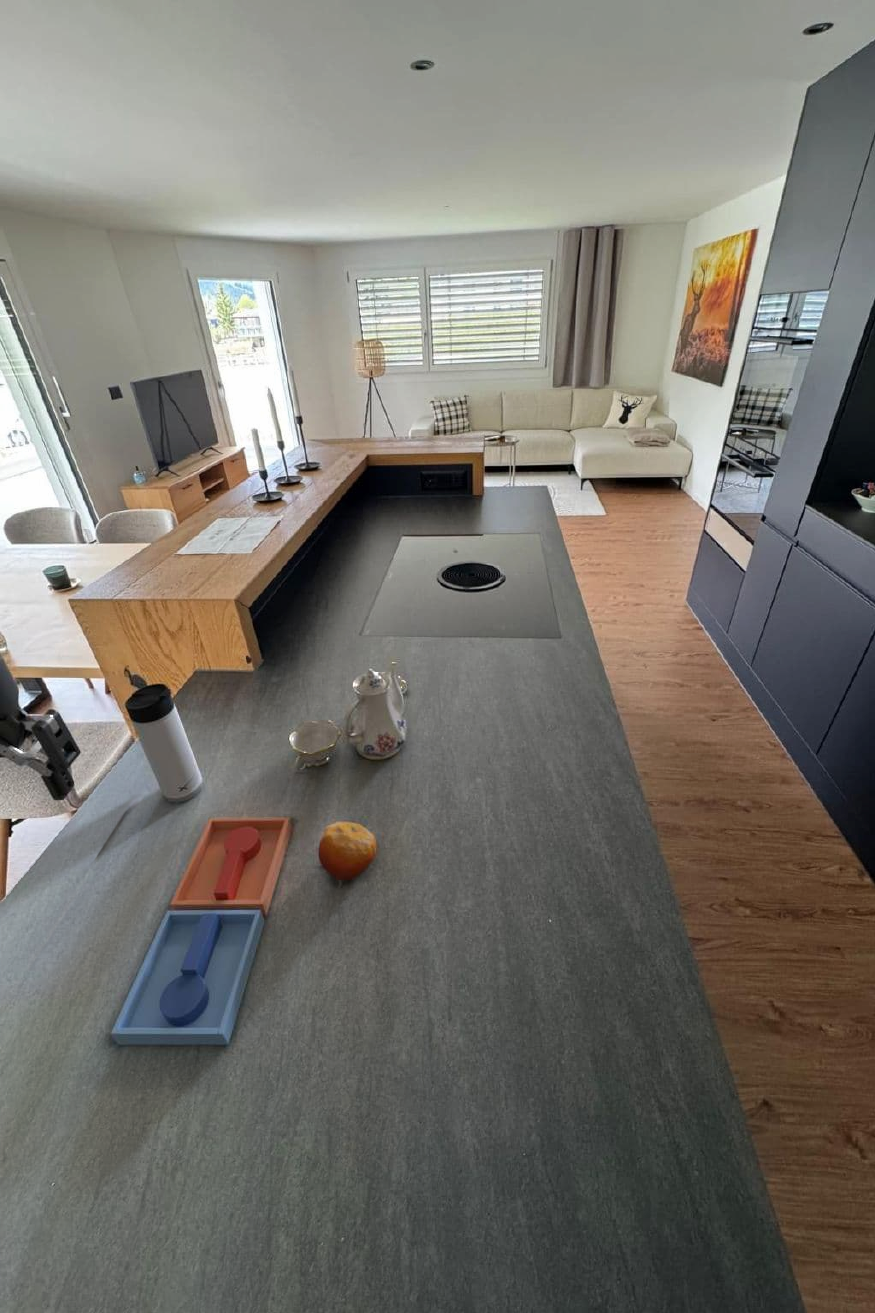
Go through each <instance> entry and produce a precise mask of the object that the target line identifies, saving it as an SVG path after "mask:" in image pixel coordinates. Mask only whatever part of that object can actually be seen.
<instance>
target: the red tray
mask: <svg viewBox="0 0 875 1313" xmlns="http://www.w3.org/2000/svg"><path fill="white" fill-rule="evenodd" d="M241 827H252V828H254V829H255V830H256V831H257V832H258V835H259V838H260V841H261V849H260V851H259V853H258V854H257V855H256V856H255V857H254V858H252V859H251V860H249V861H246V864H245V868H244V871H243V874H242V877H241V880H240V884H239V887H238V890H237V893H236V897H235V900H216V898H215V896H214V894H213V893H214V890H215V887H216V885H217V882H218V879H219V876H220V873H221V870H222V867H223V864H224V862H225V859H226V856H227V853H226V850H225V848H224V842H225V839H226V837H227V836H228V835H229V834H230V833H231V832H232V831H234V830H236V829H238V828H241ZM292 831H293V826H292V821H291V818H290V817H289V816H287V817H286V816H285V817H283V816H282V817H281V816H279V817H214V818H212V817H211V818H209V819H208V821H207V823H206V825H205V828H204V829H203V831H202V834H201V836H200V838H199V840H198V843H197V845H196V847H195V849H194V851H193V853H192V856H191V858H190V860H189V862H188V864H187V866H186V868H185V871H184V873H183V875H182V877H181V879H180V882H179V884H178V886H177V888H176V891H175V893H174V894H173V896H172V899H171V901H170V903H169V906H170V908H171V911H182V910H261V912H262V915H263V916H268V912H269V909H270V905H271V902H272V898H273V895H274V893H275V892H274V891H275V888H276V885H277V882H278V879H279V875H280V871H281V868H282V865H283V863H284V862H283V861H284V858H285V854H286V851H287V848H288V844H289V841H290V838H291V835H292Z"/></svg>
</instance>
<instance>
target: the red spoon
mask: <svg viewBox="0 0 875 1313" xmlns="http://www.w3.org/2000/svg"><path fill="white" fill-rule="evenodd" d="M224 848H225V850H226V853H227V856H226V859H225V862H224V864H223V867H222V870H221V873H220V876H219V879H218V882H217V885H216V887H215V890H214V893H213V894H214V896H215V898H216V900H235V897H236V893H237V890H238V887H239V884H240V880H241V877H242V874H243V871H244V868H245V864H246V861H249V860H251V859H252V858H254V857H255V856H256V855H257V854H258V853H259V851H260V849H261V841H260V838H259V835H258V832H257V831H256V830H255V829H254V828H252V827H241V828H238V829H236V830H234V831H232V832H231V833H230V834H229V835H228V836H227V837H226V839H225V842H224Z"/></svg>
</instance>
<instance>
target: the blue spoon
mask: <svg viewBox="0 0 875 1313" xmlns="http://www.w3.org/2000/svg"><path fill="white" fill-rule="evenodd" d="M221 929H222V925H221V923H220V920H219V918H218V916H217V914H216V913H203V914H202V916H201V919H200V921H199V924H198V926H197V929H196V931H195V934H194V936H193V939H192V941H191V944H190V946H189V949H188V951H187V954H186V956H185V959H184V961H183V964H182V966H181V969H180V971H181V973H182V974H183V975H181V976H178V977H177V978H175V979H174V980H172V981H171V982H170V983H169V984H168V985H167V986H166V988H165V989H164V991H163V993H162V995H161V998H160V1010H161V1012H162V1014H163V1015H164V1017H165V1019H166V1020H167V1022H168V1023H169V1024H171V1025H173V1026H178V1027H179V1026H185V1025H188V1024H190V1023H192V1022H194V1021H195V1020H196V1019H197V1018H199V1017H200V1015H201V1014H202V1013H203V1012H204V1010H205V1009H206V1007H207V1004H208V1001H209V991H208V988H207V986H206V984H205V982H204V981H203V979H204V976H205V974H206V971H207V968H208V965H209V963H210V960H211V957H212V954H213V951H214V949H215V946H216V943H217V940H218V937H219V935H220V932H221Z"/></svg>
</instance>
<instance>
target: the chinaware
mask: <svg viewBox="0 0 875 1313" xmlns="http://www.w3.org/2000/svg"><path fill="white" fill-rule="evenodd" d="M396 668H397V663H396V662H391V663H390V664H389V666H388V669H387V672H386V671H380V672H377V671H374V669H372V668H369V669H368V670H367V671H366V673H364V674H361V675H359V676H357V677H356V678H354V681H353V682H352V689H353V690H354V692H355V694H356V700H354V701H352V703H351V704H350V705H349V706H348V708H347V710H346V712H345V714H344V715H343V716H344V717H343V720H342V732H343V734H344V735H345V736H346V740H347V741H348V743H350V744H351V745H352V746H353V747H354V748H355V750H356V752H357V753H358V754H359V756H361V757H362V758H364V759H366V760H370V761H383V760H384V761H385V760H387V759H390V758H392V757H394V756H396V755H397V754H398V753H399V752H401V749H402V748H403V745H404V744H405V742H406V737H407V733H408V730H409V724H408V722H407V721H406V720H405V719H404V718H403V717H402V716H403V713H404V710H405V708H404V707H405V702H404V700H405V699H404V695H403V694H405V693H406V692H407V691H408V689H409V685H408V682H407V681H406V680H403V678H402V677H401V676H399V675H396ZM403 683H405V688H404V690H403ZM355 709H357V710H356V714H355V716H354V717H353V719H352V722H351V725H350V727H349V721H350V719H351V716H352V713H353V712H354V710H355ZM341 736H342V733H341V730H340V729H339V728H337V727H336V725H335V723H334V722H333V721H331V719H323V720H320V721H318V722H317V721H312V720H309V721H308V720H307V721H303V722H302V723H301V724H299V726H298V727H297V728H296V729H295V731H294V732H291V733H290V734H289V736H288V737H287V740H288V743H289V745H290V746H291V748H292V749H293V750H294V752H296V753H297V757H296V758H295V761H294V768H295V769H296V771H298V772H302V771H303V770H305V768H306V767H308V768H311V767H312V766H317V767H319V766H322V765H324V764H325V763H329V758H330V757H331V756H332V754H333V753H334V752H335V749H336V747H337V742H338V740H339V739H340V737H341ZM300 759H303V760H305V761H306V762H304V764H303V766H302V767H301V768H299V761H300Z"/></svg>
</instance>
